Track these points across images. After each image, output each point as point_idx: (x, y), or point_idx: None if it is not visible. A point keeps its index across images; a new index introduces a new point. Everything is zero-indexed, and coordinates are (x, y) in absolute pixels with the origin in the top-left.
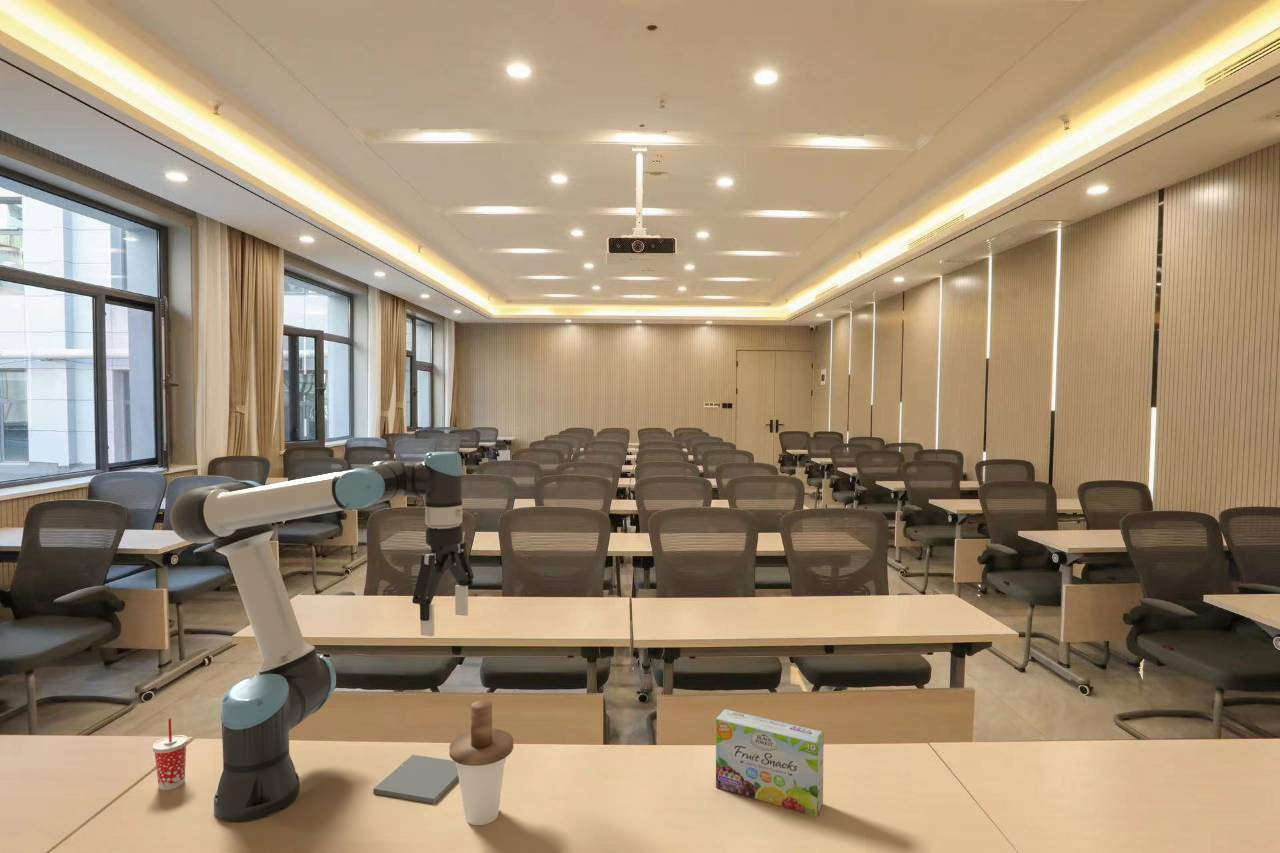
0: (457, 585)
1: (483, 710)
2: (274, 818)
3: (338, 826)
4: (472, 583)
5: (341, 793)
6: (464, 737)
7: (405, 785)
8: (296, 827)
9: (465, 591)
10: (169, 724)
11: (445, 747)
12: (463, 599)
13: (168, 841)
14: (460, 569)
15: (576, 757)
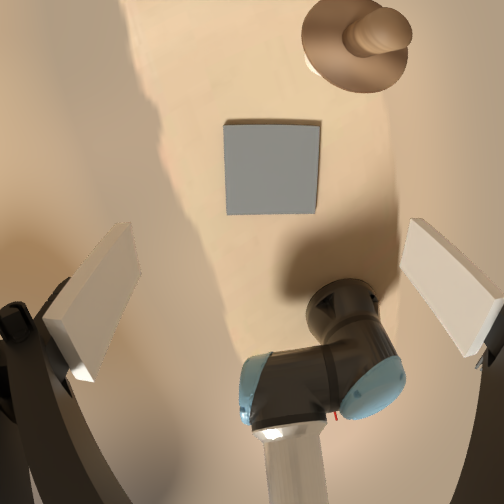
0: (80, 373)
1: (406, 20)
2: (367, 275)
3: (375, 209)
4: (6, 305)
5: (319, 245)
6: (350, 76)
7: (300, 179)
8: (379, 247)
9: (77, 301)
10: (336, 415)
11: (184, 189)
12: (103, 281)
13: (396, 321)
14: (76, 492)
15: (154, 5)
